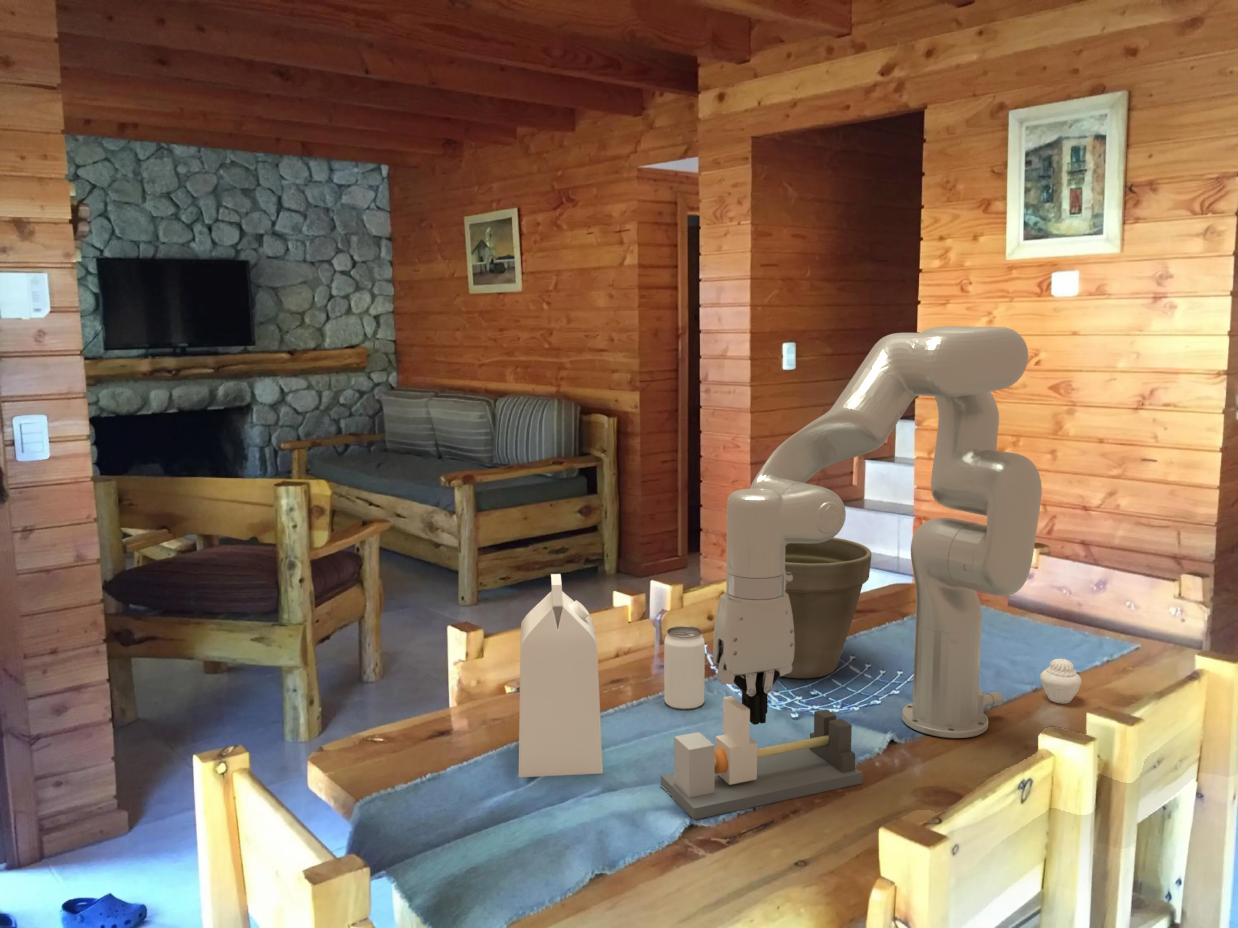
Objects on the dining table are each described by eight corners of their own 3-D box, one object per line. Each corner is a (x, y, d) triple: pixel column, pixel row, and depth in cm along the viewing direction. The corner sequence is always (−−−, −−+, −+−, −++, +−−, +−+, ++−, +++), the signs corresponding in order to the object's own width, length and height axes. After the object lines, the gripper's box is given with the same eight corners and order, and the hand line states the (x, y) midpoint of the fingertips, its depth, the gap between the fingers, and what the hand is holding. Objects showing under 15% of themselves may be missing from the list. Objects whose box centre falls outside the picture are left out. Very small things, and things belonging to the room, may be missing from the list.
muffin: (1086, 699, 163) (1088, 657, 162) (1072, 710, 159) (1074, 667, 158) (1047, 689, 167) (1049, 649, 166) (1032, 700, 163) (1034, 658, 162)
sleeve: (740, 765, 136) (740, 694, 135) (758, 780, 132) (759, 707, 130) (713, 770, 135) (713, 698, 133) (731, 786, 130) (731, 712, 129)
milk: (519, 740, 150) (515, 569, 146) (597, 737, 151) (594, 567, 147) (518, 777, 138) (513, 592, 134) (602, 773, 139) (600, 589, 135)
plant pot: (823, 636, 196) (825, 527, 193) (896, 679, 173) (900, 556, 170) (704, 651, 188) (704, 537, 185) (764, 698, 165) (765, 569, 162)
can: (701, 711, 160) (702, 638, 158) (661, 708, 161) (661, 636, 159) (706, 696, 166) (706, 626, 164) (667, 693, 167) (667, 624, 166)
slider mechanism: (820, 753, 144) (821, 700, 143) (862, 783, 135) (863, 727, 134) (660, 785, 135) (660, 729, 134) (693, 819, 126) (693, 759, 125)
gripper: (790, 572, 137) (788, 701, 139) (690, 584, 131) (690, 718, 134) (821, 585, 130) (818, 721, 132) (717, 599, 124) (717, 740, 127)
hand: (754, 719), depth 133 cm, fingers closed
